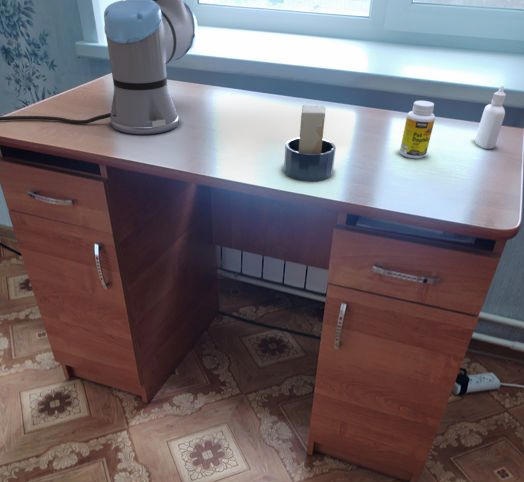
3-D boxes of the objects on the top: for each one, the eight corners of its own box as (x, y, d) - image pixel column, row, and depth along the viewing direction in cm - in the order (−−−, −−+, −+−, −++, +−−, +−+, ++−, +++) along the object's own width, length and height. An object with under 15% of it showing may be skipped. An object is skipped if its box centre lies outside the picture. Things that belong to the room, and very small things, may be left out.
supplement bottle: (406, 160, 105) (417, 107, 98) (395, 150, 109) (405, 99, 102) (430, 158, 106) (443, 106, 99) (418, 149, 110) (430, 98, 103)
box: (319, 174, 96) (325, 113, 89) (296, 173, 97) (301, 112, 89) (319, 164, 100) (325, 105, 93) (297, 163, 101) (302, 103, 93)
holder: (278, 177, 96) (280, 150, 93) (290, 159, 103) (292, 134, 100) (327, 184, 94) (330, 157, 91) (336, 166, 101) (339, 140, 98)
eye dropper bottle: (494, 142, 114) (513, 84, 107) (493, 150, 111) (513, 91, 103) (474, 139, 116) (492, 82, 108) (472, 147, 112) (490, 88, 104)
